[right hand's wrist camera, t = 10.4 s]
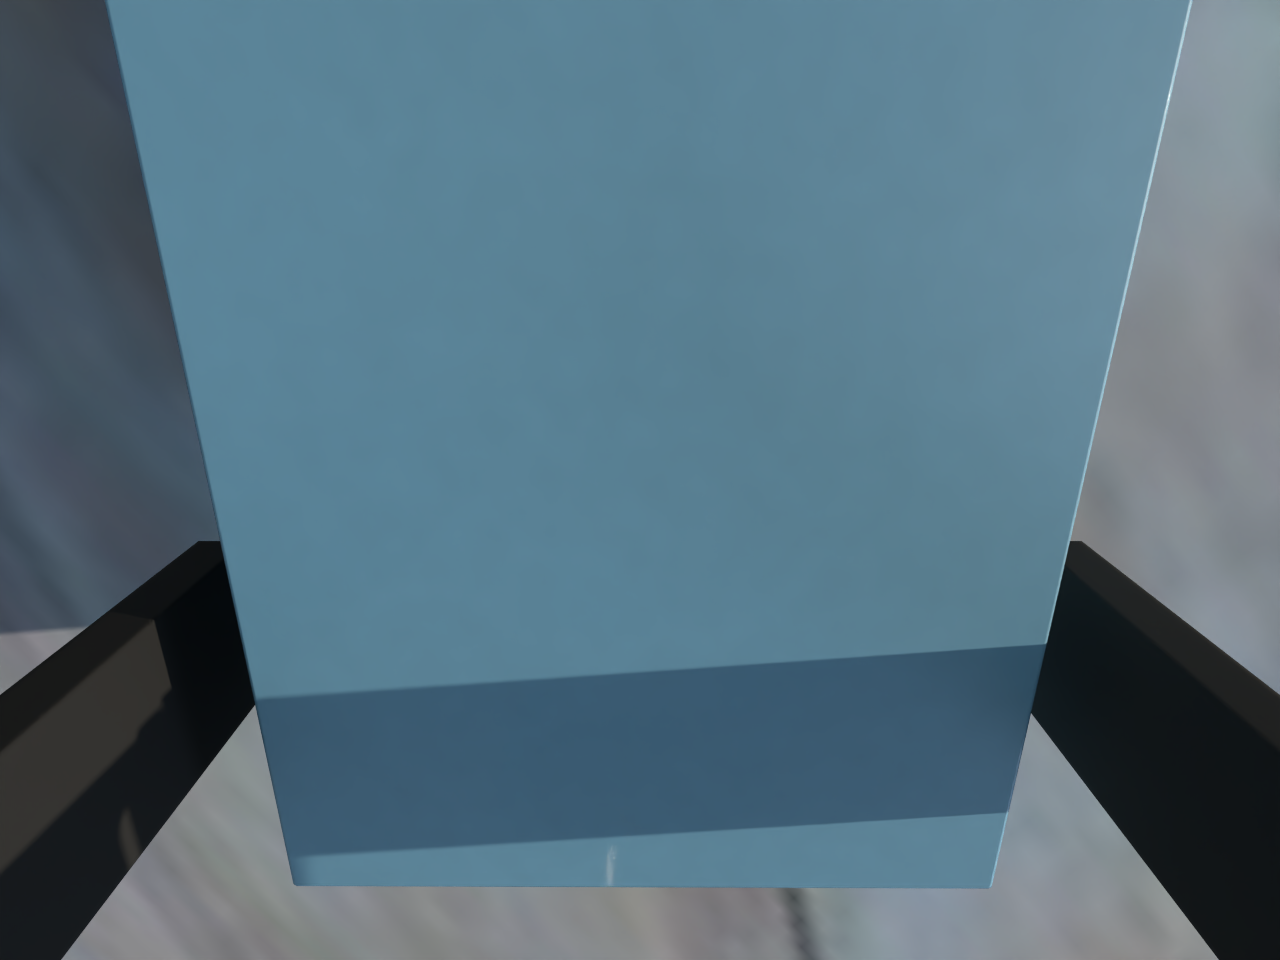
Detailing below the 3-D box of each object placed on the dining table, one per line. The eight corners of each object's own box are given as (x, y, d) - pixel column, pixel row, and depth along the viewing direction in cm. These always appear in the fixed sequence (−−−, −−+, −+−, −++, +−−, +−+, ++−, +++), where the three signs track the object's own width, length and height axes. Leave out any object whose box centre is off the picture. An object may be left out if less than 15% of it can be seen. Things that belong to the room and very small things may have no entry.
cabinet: (346, -503, 13) (-374, -2190, 4) (947, -501, 13) (1693, -2182, 4) (449, 572, 20) (291, 888, 11) (833, 573, 20) (993, 891, 11)
